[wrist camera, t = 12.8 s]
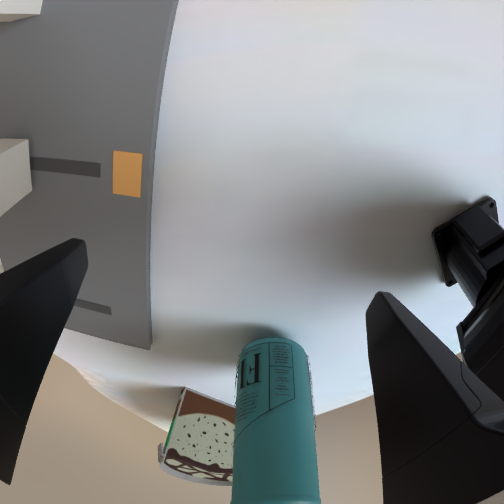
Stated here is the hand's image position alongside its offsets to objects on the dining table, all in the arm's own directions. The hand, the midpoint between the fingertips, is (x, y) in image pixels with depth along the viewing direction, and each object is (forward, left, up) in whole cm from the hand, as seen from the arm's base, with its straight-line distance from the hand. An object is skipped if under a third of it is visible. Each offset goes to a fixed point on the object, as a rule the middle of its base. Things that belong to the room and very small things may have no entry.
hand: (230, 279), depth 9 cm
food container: (-23, +22, -12) cm, 34 cm away
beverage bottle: (-16, +8, -12) cm, 22 cm away
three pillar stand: (+8, +11, -12) cm, 18 cm away
